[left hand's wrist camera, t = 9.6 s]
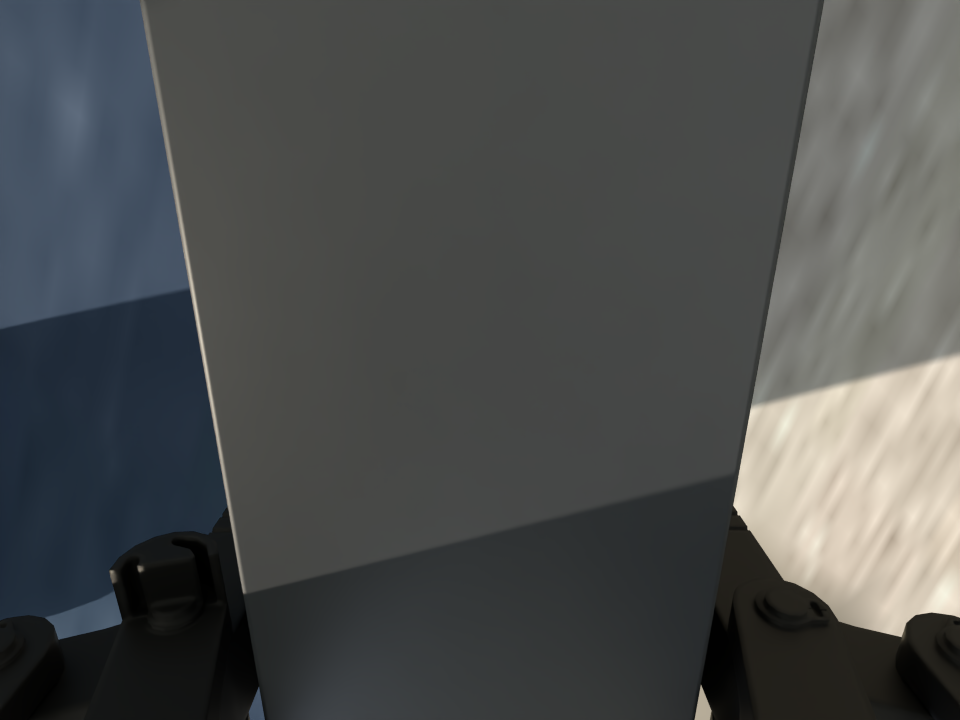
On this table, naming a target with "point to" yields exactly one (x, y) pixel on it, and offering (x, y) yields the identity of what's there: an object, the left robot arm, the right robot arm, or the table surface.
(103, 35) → the table surface
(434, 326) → the post
